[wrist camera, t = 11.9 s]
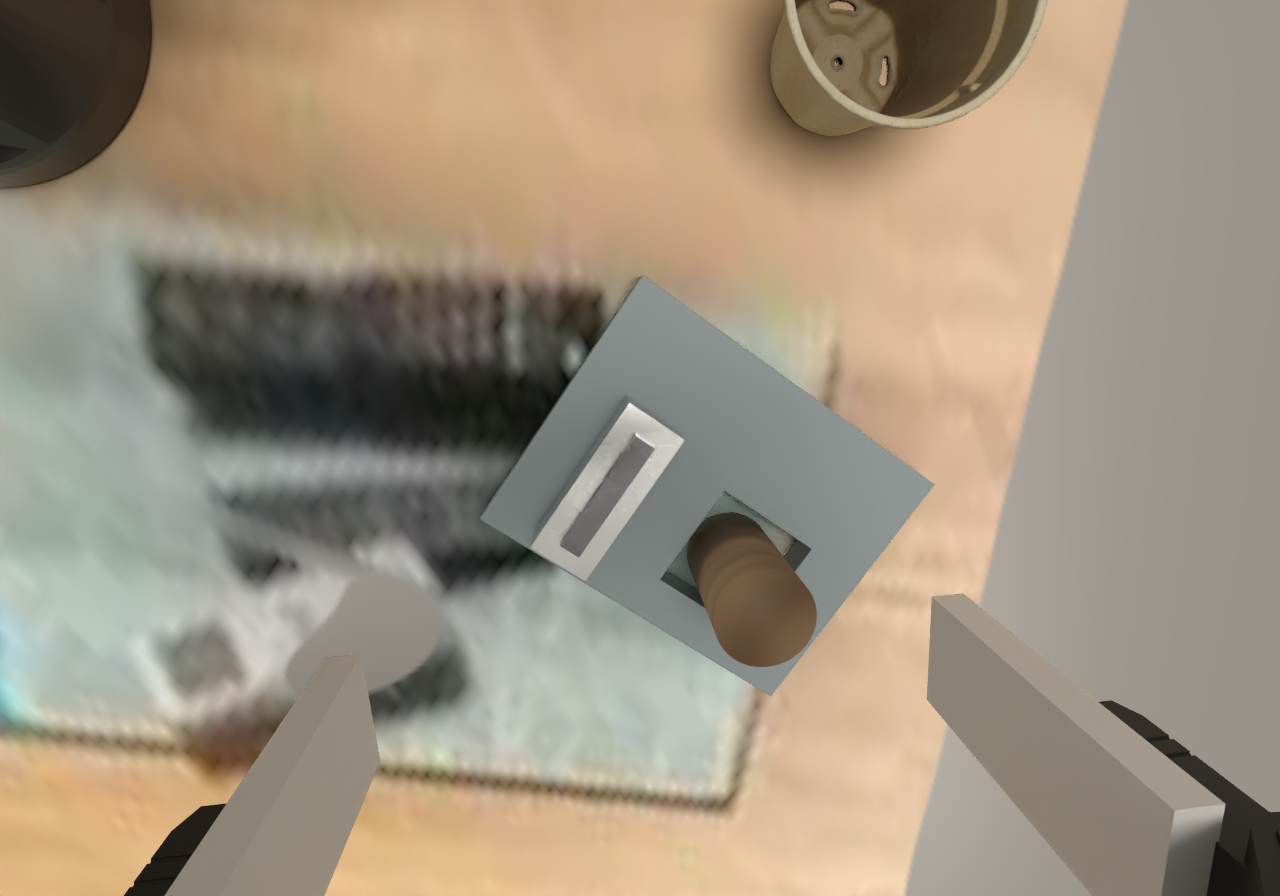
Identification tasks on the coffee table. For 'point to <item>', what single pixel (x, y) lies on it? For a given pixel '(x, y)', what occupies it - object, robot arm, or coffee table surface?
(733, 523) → the walnut peg
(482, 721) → the coffee table surface
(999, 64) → the flower pot
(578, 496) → the bar
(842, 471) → the housing plate
